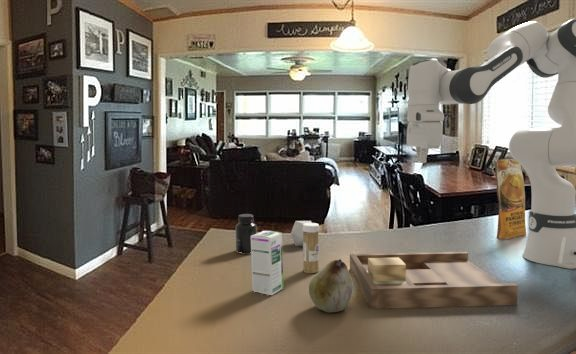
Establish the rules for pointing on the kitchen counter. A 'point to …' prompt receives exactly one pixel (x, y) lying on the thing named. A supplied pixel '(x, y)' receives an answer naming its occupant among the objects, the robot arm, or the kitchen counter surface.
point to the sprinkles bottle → (310, 248)
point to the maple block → (386, 269)
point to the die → (298, 232)
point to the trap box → (432, 282)
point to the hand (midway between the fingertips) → (421, 162)
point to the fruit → (331, 287)
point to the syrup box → (267, 262)
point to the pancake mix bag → (510, 199)
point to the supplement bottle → (245, 232)
